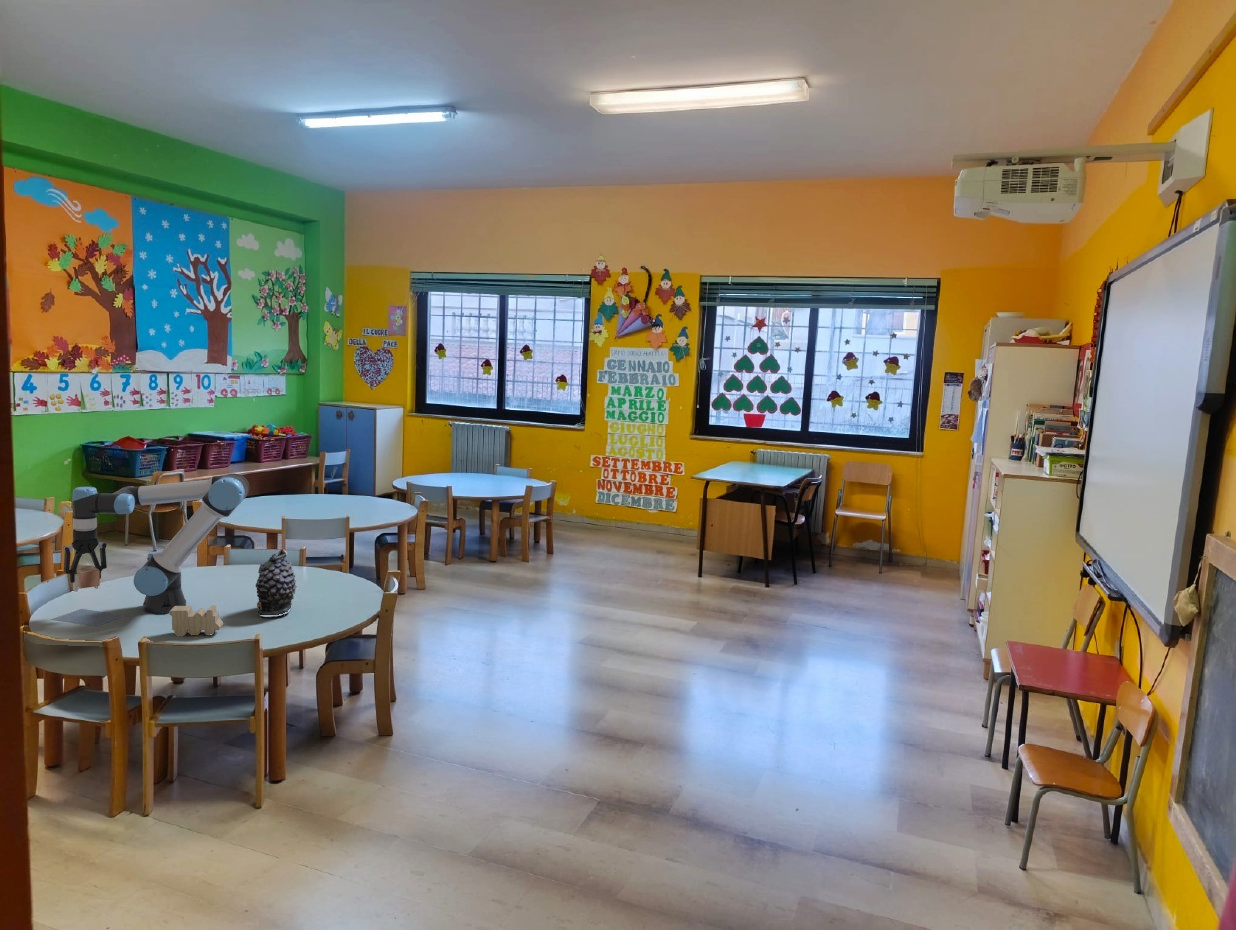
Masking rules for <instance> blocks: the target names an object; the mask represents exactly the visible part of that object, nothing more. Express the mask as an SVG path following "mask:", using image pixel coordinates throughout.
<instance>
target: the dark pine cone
mask: <svg viewBox="0 0 1236 930" xmlns="http://www.w3.org/2000/svg"><path fill="white" fill-rule="evenodd" d="M287 556H288V552H287V551H286V550H285V549H284V548H282V549H280V550H279V551H278V552H276V553H274V554H272V555H271V557H269V559H268V560H267V561H265V562H264V563H260V565H259V568H258V571H257V573H258V575H259V576H258V577H257V578H258V579H257V580H256V583H255V588H256V594H257V595H256V596H257V597H258V602H257V603H256V608H258V609H257V614H258V613H259V614H260V615H279V614H283V613H285V612H288V610H289V609H290V608H291V605H292V600H294V595H295V594H296V588H297V585H296V579H295V577H296V574H295V573H294V569H293V566H292V562H291V561H290V562H289V560H288V558H287ZM291 609H292V608H291ZM259 614H258V615H259Z"/></svg>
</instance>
